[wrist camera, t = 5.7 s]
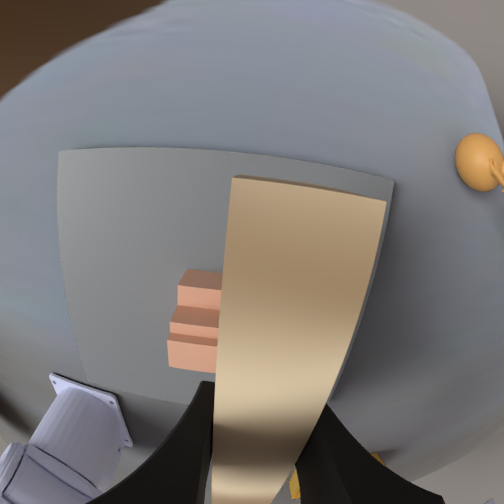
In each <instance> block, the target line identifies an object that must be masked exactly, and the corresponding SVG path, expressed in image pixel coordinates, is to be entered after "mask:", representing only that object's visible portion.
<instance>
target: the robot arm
mask: <svg viewBox="0 0 504 504" xmlns="http://www.w3.org/2000/svg"><path fill="white" fill-rule="evenodd" d="M49 377H50V380H51V382H52V384H53V386H54V389H55V391H56V393H57V395H58V396H57V397H56V399H55V400H54V402H53V403H52V405H51V406H50V408H49V409H48V411H47V412H46V414H45V416H44V417H43V419H42V420H41V422H40V424H39V425H38V427H37V429H36V430H35V432H34V434H33V435H32V437H31V439H30V440H29V442H28V444H27V445H25V446H23V445H22V444H21V443H19V442H17V443H10V444H9V446H8V447H7V448H6V450H5V451H4V453H3V454H2V456H1V458H0V504H204V498H205V488H206V481H207V476H208V471H209V466H210V461H211V456H212V451H213V422H214V399H215V382H211V381H201V382H200V384H199V387H198V389H197V391H196V393H195V395H194V397H193V399H192V401H191V403H190V405H189V406H188V408H187V410H186V411H185V413H184V414H183V416H182V417H181V419H180V421H179V422H178V423H177V425H176V426H175V427H174V429H173V430H172V431H171V433H170V434H169V435H168V437H167V438H166V439H165V440H164V442H163V443H162V444H161V445H160V446H159V447H158V449H157V450H156V451H155V452H154V453H153V454H152V455H151V456H150V457H149V458H148V459H147V460H146V461H145V462H144V463H143V464H142V465H141V466H139V467H138V468H137V469H136V470H135V471H134V472H133V473H131V474H130V475H129V476H128V477H126V478H125V479H124V480H122V481H121V482H120V483H118V484H117V485H115V486H114V487H113V488H111V489H110V490H108V491H107V492H105V493H103V492H101V491H103V490H105V489H106V488H108V487H109V486H110V484H111V483H112V480H113V478H114V475H115V471H116V469H117V466H118V463H119V460H120V457H121V454H122V451H123V448H124V445H125V446H128V447H133V442H132V440H131V437H130V435H129V432H128V429H127V427H126V424H125V421H124V418H123V416H122V413H121V410H120V407H119V404H118V401H117V398H116V396H115V395H113V394H111V393H108V392H104V391H101V390H98V389H95V388H91V387H88V386H85V385H83V384H80V383H77V382H74V381H71V380H69V379H66V378H63V377H61V376H58V375H56V374H53V373H51V374H50V375H49ZM295 466H296V471H297V476H298V481H299V488H300V497H301V504H445V502H444V500H443V498H442V496H440V495H437V494H435V493H432V492H430V491H427V490H425V489H423V488H420V487H418V486H416V485H414V484H412V483H411V482H409V481H407V480H405V479H403V478H402V477H400V476H399V475H397V474H396V473H394V472H393V471H391V470H390V469H388V468H387V467H386V466H384V465H383V464H382V463H380V462H379V461H378V460H377V459H376V458H374V457H373V456H372V455H371V454H370V453H369V452H368V451H367V450H366V449H365V448H364V447H363V446H362V445H361V444H360V443H359V442H358V441H357V440H356V439H355V438H354V437H353V436H352V435H351V434H350V432H349V431H348V430H347V429H346V428H345V427H344V425H343V424H342V423H341V422H340V420H339V419H338V418H337V417H336V415H335V414H334V413H333V411H332V410H331V408H330V407H329V406H328V404H327V403H326V404H325V406H324V408H323V410H322V412H321V415H320V417H319V419H318V421H317V423H316V425H315V427H314V429H313V431H312V433H311V435H310V437H309V439H308V441H307V443H306V445H305V447H304V448H303V450H302V452H301V454H300V456H299V458H298V459H297V461H296V463H295ZM484 504H495V502H494V500H493V498H491V499H489V500H488V501H487V502H485V503H484Z"/></svg>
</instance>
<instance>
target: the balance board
mask: <svg viewBox="0 0 504 504" xmlns="http://www.w3.org/2000/svg"><path fill="white" fill-rule="evenodd" d="M238 174H244V175H253V176H261V177H269V178H277V179H284V180H291V181H298V182H305V183H311V184H317V185H323V186H329V187H333V188H337V189H341V190H345V191H349V192H353V193H357V194H361V195H364V196H368V197H372V198H375V199H379V200H382V201H386V208H385V213H384V219H383V224H382V229H381V234H380V238H379V243H378V247H377V252H376V256H375V260H374V264H373V268H372V272H371V276H370V280H369V283H368V287H367V291H366V294H365V297H364V301H363V304H362V308H361V311H360V314H359V317H358V320H357V323H356V326H355V329H354V332H353V335H352V338H351V341H350V344H349V347H348V349H347V352H346V355H345V357H344V360H343V363H342V365H341V368H340V370H339V373H338V375H337V378H336V380H335V383H334V385H333V388H332V390H331V392H330V395H329V397H328V399H327V401H326V403H327V404H328V405H329V402H330V400H331V398H332V396H333V394H334V391H335V389H336V387H337V384H338V382H339V380H340V377H341V375H342V372H343V370H344V367H345V365H346V362H347V360H348V357H349V354H350V352H351V349H352V346H353V344H354V341H355V338H356V335H357V332H358V329H359V327H360V324H361V321H362V317H363V314H364V311H365V308H366V305H367V302H368V298H369V295H370V291H371V288H372V284H373V281H374V277H375V273H376V269H377V266H378V262H379V257H380V253H381V249H382V245H383V240H384V236H385V231H386V226H387V221H388V216H389V210H390V205H391V199H392V193H393V186H394V180H392V179H388V178H384V177H380V176H376V175H372V174H368V173H363V172H359V171H354V170H350V169H345V168H340V167H335V166H330V165H324V164H319V163H313V162H307V161H301V160H295V159H288V158H282V157H274V156H267V155H259V154H250V153H241V152H230V151H219V150H205V149H188V148H161V147H118V148H92V149H76V150H64V151H59V156H58V173H57V222H58V239H59V251H60V260H61V268H62V276H63V283H64V289H65V295H66V300H67V306H68V311H69V315H70V320H71V324H72V329H73V333H74V337H75V341H76V344H77V348H78V351H79V355H80V358H81V362H82V365H83V368H84V371H85V374H86V377H87V380H88V381H89V382H92V383H95V384H99V385H102V386H105V387H109V388H112V389H116V390H120V391H123V392H127V393H131V394H135V395H139V396H144V397H148V398H153V399H158V400H163V401H168V402H174V403H180V404H186V405H190V403H191V401H192V399H193V397H194V395H195V393H196V391H197V389H198V387H199V384H200V382H201V381H211V382H215V379H216V361H217V345H218V329H219V315H220V302H221V289H222V276H223V265H224V253H225V242H226V232H227V221H228V211H229V202H230V192H231V183H232V177H234V176H236V175H238Z"/></svg>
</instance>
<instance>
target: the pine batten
mask: <svg viewBox="0 0 504 504" xmlns="http://www.w3.org/2000/svg"><path fill="white" fill-rule="evenodd" d="M385 208H386V201H382V200H379V199H375V198H372V197H368V196H364V195H361V194H357V193H353V192H349V191H345V190H341V189H337V188H333V187H329V186H323V185H317V184H311V183H305V182H298V181H291V180H284V179H277V178H269V177H261V176H253V175H244V174H238V175H236V176H234V177H232V183H231V192H230V202H229V211H228V221H227V232H226V242H225V253H224V265H223V276H222V289H221V302H220V315H219V329H218V345H217V361H216V379H215V399H214V422H213V453H212V504H271V502H272V501H273V499H274V498H275V496H276V494H277V493H278V491H279V490H280V488H281V487H282V485H283V483H284V482H285V480H286V478H287V477H288V475H289V473H290V472H291V470H292V468H293V467H294V465H295V463H296V461H297V459H298V458H299V456H300V454H301V452H302V450H303V448H304V447H305V445H306V443H307V441H308V439H309V437H310V435H311V433H312V431H313V429H314V427H315V425H316V423H317V421H318V419H319V417H320V415H321V412H322V410H323V408H324V406H325V404H326V401H327V399H328V397H329V395H330V392H331V390H332V388H333V385H334V383H335V380H336V378H337V375H338V373H339V370H340V368H341V365H342V363H343V360H344V357H345V355H346V352H347V349H348V347H349V344H350V341H351V338H352V335H353V332H354V329H355V326H356V323H357V320H358V317H359V314H360V311H361V308H362V304H363V301H364V297H365V294H366V291H367V287H368V283H369V280H370V276H371V272H372V268H373V264H374V260H375V256H376V252H377V247H378V243H379V238H380V234H381V229H382V224H383V219H384V213H385Z"/></svg>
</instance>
